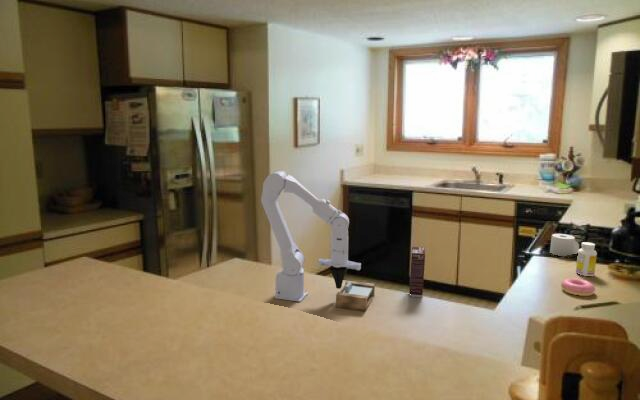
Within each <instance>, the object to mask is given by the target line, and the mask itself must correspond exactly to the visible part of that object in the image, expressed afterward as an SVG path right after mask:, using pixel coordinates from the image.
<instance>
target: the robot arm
mask: <svg viewBox="0 0 640 400" xmlns="http://www.w3.org/2000/svg"><path fill="white" fill-rule="evenodd" d="M282 192H283V193H292V194H294V195H296V196H297V197H298V198H299V199H301V200H302V201H303V202H305V203H307V204H308V205H309V206H310V207H312V213H313V214H314V215H316V216H317V217H318V218H319V219H321V220H322V221H323V222H325V223H326V224H327V225H329V226H330V230H331V237H330V239H331V240H330V248H331V249H330V258H319V259H318V261H317V266H318V267H322V266H323V267H330V273H331V275H332V278H333V280H334V283H335V287H336V288H335V289H337V290H339V289H340V290H341V289H342V288H343V281H344V278H345V276H346V273H347V272H348V270H349V269H351V270H356V271H360V270H361V268H362V263H361V262H356V261H351V260H349V230H348V229H349V225H350V218H349V217H348V215H347V214H346V213H345V212H342V211H341V209H337V208H336V207H334V206H333V205H332V204H331V201H330V200H329V199H327V200H326V199H325V198H318V197H316V196H315V195H314V194H313V193H312V192H311V191H310V190H308V188H307V187H305V186H304V185H303V184H302V183H301V182H299V181H298V180H297V179H296V178H295V177H294V176H292V175H291V174H288V173H287V172H286V171H285V170H282V169H277V170H275V171H274V172H272V173H270V174H268V175H267V177H266V178H265V179H264V181H263V183H262V192H261V198H260V202H261V205H262V208H263V210H264V212H265V214H266V217H267V220H268V222H269V224H270V226H271V230H272V232H273V234H274V237H275V238H276V241H277V243H278V247H279V248H280V258H281V262H282V263H281V264H282V265H281V266H282V270H279V271H277V272H276V276H275V296H274V299H278V300H285V301H291V302H293V301H294V302H302V301H303V299H304V298H305V297H306V296H307V295H308V293H309V292H308V291H305V269H304V268H303V264H304V262H305V255H304V253H303V251H301V250H300V249H299V247H298V245H297V244H296V242H295V241H294V240H293V237H292V234H291V232H290V230H289V227H288V223H287V222H286V220H285V217H284V215H283V212H282V210H281V207H280V205H279V201H278V200H279V197H280V195H281V193H282Z"/></svg>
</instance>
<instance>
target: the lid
mask: <svg viewBox="0 0 640 400" xmlns="http://www.w3.org/2000/svg"><path fill="white" fill-rule="evenodd" d="M348 281H349V282H348V283H347V284H346V286H345V285H344V286H345V290H344V291H343V293H348V294H356V295H363V296H368V297H369V295H370V293H371V292H372V290H373V287H369V286H361V285H353V284H352V282H351V281H352V280H348ZM368 297H367V299H368Z"/></svg>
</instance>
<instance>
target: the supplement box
mask: <svg viewBox="0 0 640 400" xmlns="http://www.w3.org/2000/svg"><path fill="white" fill-rule="evenodd" d="M410 260H411V261H410V272H409V273H410V274H409V289H408V290H409V293H408V296H409V297H413V298H423V293H424V292H423V291H424V277H425V264H426V248H425V247H420V246H412V247H411V259H410ZM410 294H411V295H410Z"/></svg>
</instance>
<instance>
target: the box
mask: <svg viewBox="0 0 640 400" xmlns="http://www.w3.org/2000/svg"><path fill="white" fill-rule="evenodd" d="M349 281H351V282H352V284H353V285H361V286H369V287H373V290H372V292H371V293H370V295H369V297H368V296H363V295H356V294H348V293H343V291H344V290H345V286H346V284H347V283H348V282H349ZM375 287H376V284H375V283H371V282H363V281H356V280H354V281H353V280H346V281H345V284H344V286H342V287H341V289H340V291H338V292H337V293H336V294H335V296H336V297H335V308H338V309H345V310H351V311H360V312H365V313H366V311H367V310H368V308H369V306H370V304H371V303H372V301H373V300H374V297H375V289H376V288H375ZM367 297H368V299H367Z"/></svg>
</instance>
